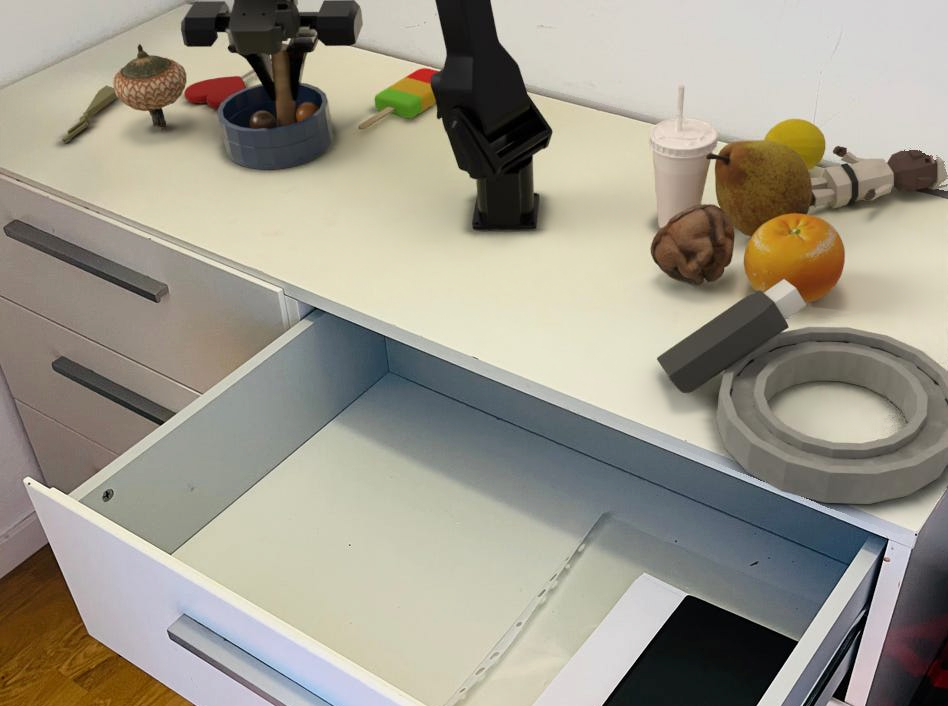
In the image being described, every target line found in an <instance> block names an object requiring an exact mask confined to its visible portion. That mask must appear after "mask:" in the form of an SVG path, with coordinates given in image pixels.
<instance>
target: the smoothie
mask: <svg viewBox="0 0 948 706" xmlns="http://www.w3.org/2000/svg"><path fill="white" fill-rule="evenodd" d="M684 100H685V85H683V84H682V85H681V84H680V85H678V87H677V102H676V103H677V104H676V116H675V118H670V119H666V120H663V121H660V122H658V123H656V124H655V125H654V126H652V127H651V128H650V131H649V139H648V145H649V147H650V149H651V150H652V162H653V171H654V172H653V173H654V186H655V198H656V199H655V200H656V211H657V223H658V228H659V230H660V229H661V228H662V227H664V226H665V225H666V224H667V223H668V222H669V220H670V219H671V218H672V217H674V216H675V215H676V214H678V213H680V212H682V211H684V210H686V209H688V208H691V207H694V206H698V205H701V204H702V202H703V201H702V200H703V195H704V192H705V187H706V182H707V179H708V173H709V168H710V165H711V160H712V159H706V157H707V155H708V154H713V151H714V150H715V149H717V147H718V145H719V144H718V143H719V142H718V131H717V129H716V127H715V126H714V125H712V124H711V123H709V122H707V121H704V120H701V119H696V118H690V117H683V116H684V115H683V114H684V102H685V101H684Z"/></svg>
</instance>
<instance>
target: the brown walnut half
mask: <svg viewBox="0 0 948 706" xmlns="http://www.w3.org/2000/svg"><path fill="white" fill-rule="evenodd" d="M735 238H736V234H735V227H734V226H733V224H732V222H731V219H730V218H729V216H728V215H727V214H726V213H725V212H724V211H723V210H722V209H721V208H720V206H719V205H716V204H711V203H710V204H708V203H707V204H706V203H705V204H704V203H703V204H702V203H701V205H698V206H694V207H691V208H688V209H686V210H684V211H682V212H680V213H678V214H676V215H675V216H674V217H672V218H671V219H670V220H669V222H668V223H667V224H666V225H665V226H664V227H662V228H661V229H660V228H659V230H658V231H657V232H656V233H655V235H654V236H653V238H652V242H651V244H650V255H651V257H652V260H653V262H654V263H655V264H656V265H657V266H658V267H659V269H660V270H661V271H662V272H663V273H664V274H666V275H667V277H669V278H671V279H672V280H675V281H678V282H682V283H687V284H690V285H691V286H694V287H699V286H702V285H703V284H704V282H705V281H706V282H707V283H709V284H710V283H714V282H716V281H718V280H719V279H720V278H721V277H722V276H723V275H724V273H725V268H727V267H729V265H731V263H732V260H733V255H734V249H735V248H734V247H735Z"/></svg>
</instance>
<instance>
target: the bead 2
mask: <svg viewBox="0 0 948 706" xmlns="http://www.w3.org/2000/svg"><path fill="white" fill-rule="evenodd" d="M319 109H320V108H319V107H318V106H317V105H316V104H314V103H312V102H305V103H302V104H301V105H299V107H298V108H297V110H296V121H297V123H298V122H301V121H303V120H305V119H307V118H308V117H310V116H312V115H313V114H314V113H316V112H317V111H318V110H319Z"/></svg>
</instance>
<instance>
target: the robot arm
mask: <svg viewBox="0 0 948 706" xmlns="http://www.w3.org/2000/svg"><path fill="white" fill-rule="evenodd" d="M434 1H435V6H436V10H437V14H438V15H437V16H438V19H439V24H440V29H441V33H442V37H443V42H444V47H445V53H446V54H445V61H444V64H443V68H442V69H441V70H438V71H439V72H437V73H435V74H433V75H432V76H431V89H432V91H433V94H434V97H435V100H436V103H435V104H436V119H437V120H440V119H441V121H442V126H443V129H444V132H445V133H446V136H447V139H448V142H449V144H450V147H451V150H452V153H453V155H454V159H455V162H456V164H457V167H458V169H459V170H461V171H463V172H466V173H467V174H468V175H469V178H470V179H472V180H475V182H476V183H475V184H476V199H475V204H474V208H473V209H474V210H473V215H472V220H471V221H472V222H471V228H472V230H475V231H484V230H485V231H507V230H508V231H513V230H514V231H515V230H516V231H519V230H521V231H524V230H531V231H532V230H536V229H537V228H538V220H539V209H540V198H541V197H540V194H539V192H535V186H534V155H536V154H537V153H539V152H540V151H542V150H545V149H547V148H548V147H549V145H550V143H551V139H552V136H553V133H554V131H553V129H552V127H551V125H550V124H549V122H548V121H547V119H546V118H545V117H544V115H543V114H542V113H541V111H540V109H539V108H538V107H537V105H536V104H535V102H534V101H533V99H532V98H531V97H530V95H529V93H528V90H527V88H526V84H525V81H524V78H523V75H522V72H521V68H520V65H519V64H518V61H516V60H515V58H514V57H513V56H512V55H511V54H510V52H509V51H507V49H506V47H504V45H503V44H502V43H501V42H500V40H499V36H498V32H497V26H496V22H495V21H496V20H495V16H494V11H493V5H492V1H491V0H434ZM298 4H299V1H298V0H233V4H232V8H231V12H230V8H229V5H228V4H227V2H226V1H225V0H223V1H221V0H219V1H217V0H216V1H213V0H212V1H211V0H210V1H193V4H192V5H191V6H190V8H189V9H188V11H187V13H185V16H184V17H183V18H182V20H181V22H180V32H181V36H182V41H183V45H184V46H186V47H187V48H208V47H209V48H211V47H212V46H214V44H215V43H216V41H217V40H218V38H219V35H218V33H226V34H227V39H228V46H227V50H228V51H229V53H230V54H237V55H239V56H241V58H243V59H245V60H246V62H247V63H248V64H249V65H250V67H251V68H252V70H254V71H255V72H254V73H255V75H256V76H257V78H258V80H259V82H260V84H262V85H263V87H264V89H265V91H266V92H267V94H268V96H269V98H270V99H271V101H275V100H276V99H275V91H274V81H273V71H272V62H271V55H274V54H277V53H279V52H280V51H281V49H282V43H283V42H288V39H290V40H289V42H288V43H287V44H288V46H287V48H286V52H287V55H288V57H289V67H290V83H291V92H292V97H293V101H297V99H298V96H299V91H300V86H301V83H302V80H303V76H304V75H303V74H304V70H305V64H306V59H307V55H308V54H310V53H313V52H314V51H316V47H317V45H318V44H319V42H320V43H322V44H323V45H324V46H325V47H349V46H354V45H356V44H357V41H358V38H359V35H360V34H361V30H362V28H363V25H364V23H363V22H364V21H363V13H362V8H361V5H360V4H359V3H358V2H357V1H356V0H323V2H322V4H321V6H320V8H319V11H299V8H298Z"/></svg>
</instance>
